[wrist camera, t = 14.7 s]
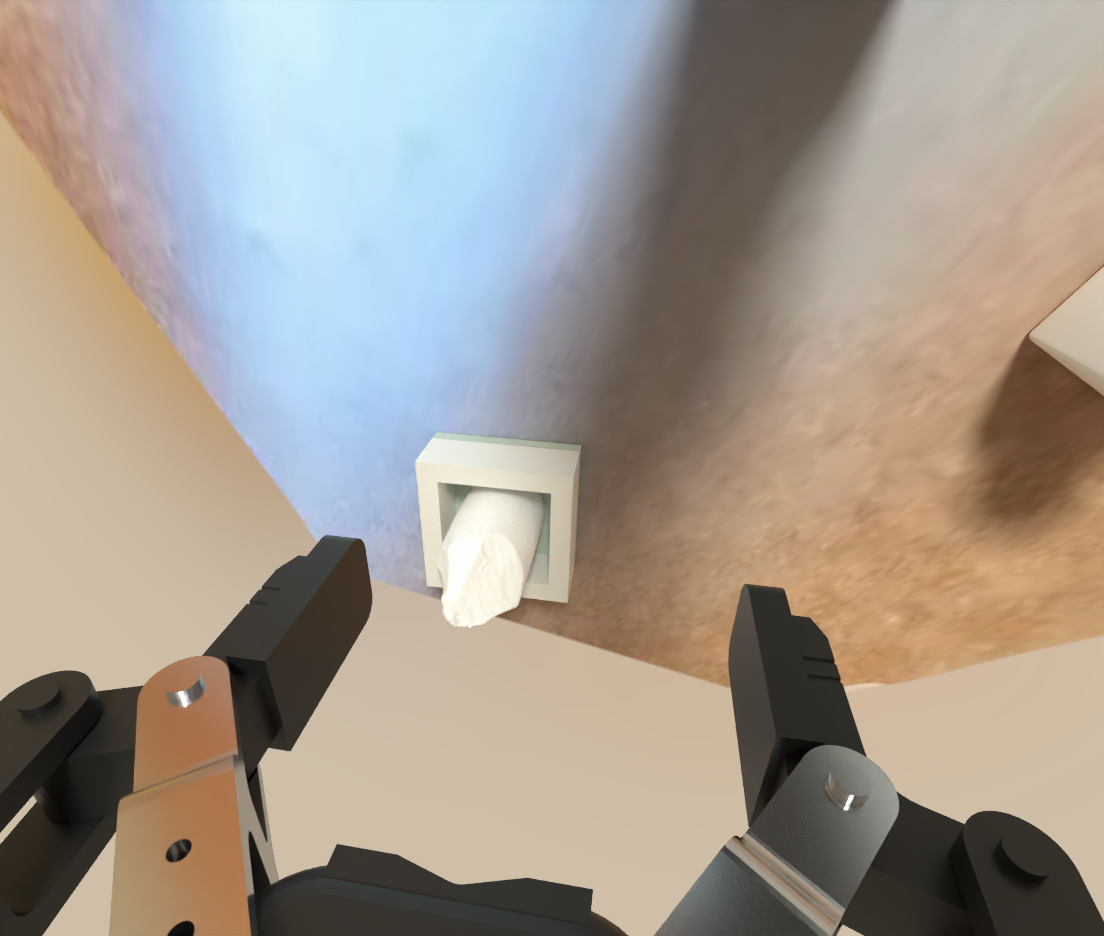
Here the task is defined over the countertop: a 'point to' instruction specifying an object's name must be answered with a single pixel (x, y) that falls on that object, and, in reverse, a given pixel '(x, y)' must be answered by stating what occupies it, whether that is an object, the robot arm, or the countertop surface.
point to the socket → (506, 466)
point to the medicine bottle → (1077, 332)
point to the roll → (488, 554)
